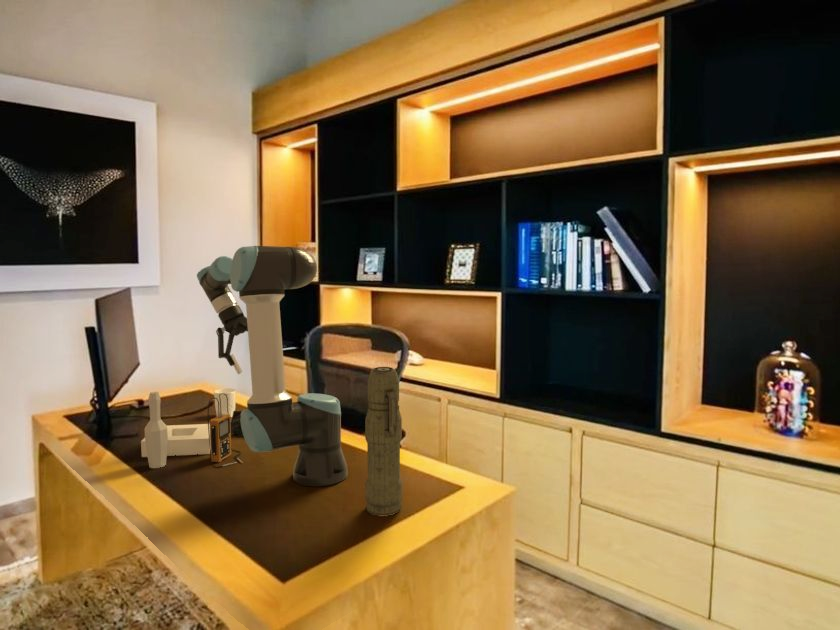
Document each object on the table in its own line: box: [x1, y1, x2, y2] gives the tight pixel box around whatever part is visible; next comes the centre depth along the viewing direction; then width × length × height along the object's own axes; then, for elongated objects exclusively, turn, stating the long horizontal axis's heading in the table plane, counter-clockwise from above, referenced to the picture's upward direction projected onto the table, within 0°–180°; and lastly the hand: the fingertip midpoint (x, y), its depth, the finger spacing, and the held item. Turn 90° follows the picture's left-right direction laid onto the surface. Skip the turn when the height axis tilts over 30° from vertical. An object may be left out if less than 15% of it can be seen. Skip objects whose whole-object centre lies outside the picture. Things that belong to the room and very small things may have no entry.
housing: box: [140, 423, 211, 458], centre depth 184 cm, size 16×20×5 cm
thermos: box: [364, 366, 403, 515], centre depth 138 cm, size 9×12×35 cm
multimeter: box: [207, 393, 244, 469], centre depth 172 cm, size 15×10×20 cm
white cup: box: [213, 388, 237, 418], centre depth 219 cm, size 8×8×10 cm
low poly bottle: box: [144, 391, 168, 469], centre depth 167 cm, size 6×6×22 cm
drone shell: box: [230, 410, 244, 437], centre depth 201 cm, size 21×20×8 cm
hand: (258, 364), depth 190 cm, fingers open, 13 cm apart
